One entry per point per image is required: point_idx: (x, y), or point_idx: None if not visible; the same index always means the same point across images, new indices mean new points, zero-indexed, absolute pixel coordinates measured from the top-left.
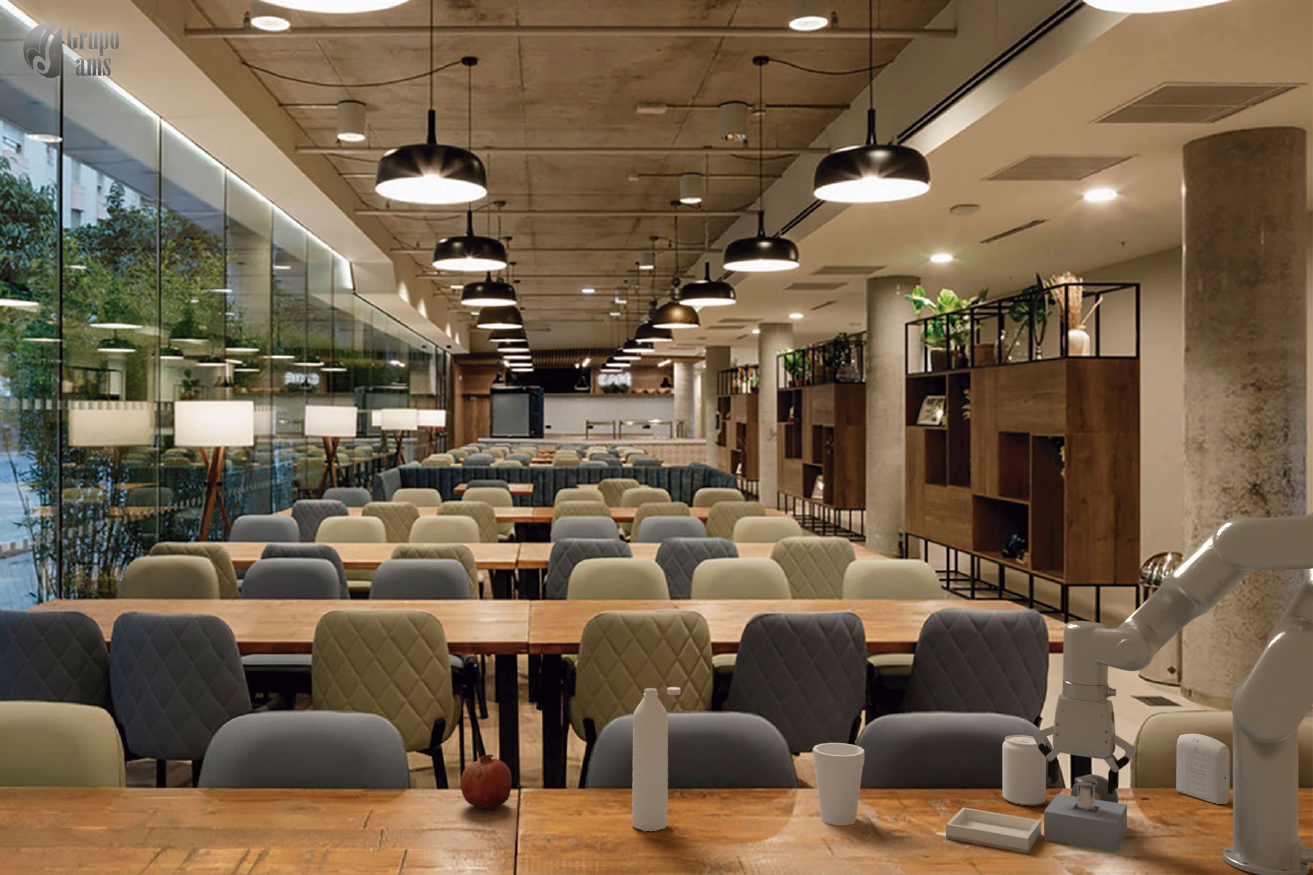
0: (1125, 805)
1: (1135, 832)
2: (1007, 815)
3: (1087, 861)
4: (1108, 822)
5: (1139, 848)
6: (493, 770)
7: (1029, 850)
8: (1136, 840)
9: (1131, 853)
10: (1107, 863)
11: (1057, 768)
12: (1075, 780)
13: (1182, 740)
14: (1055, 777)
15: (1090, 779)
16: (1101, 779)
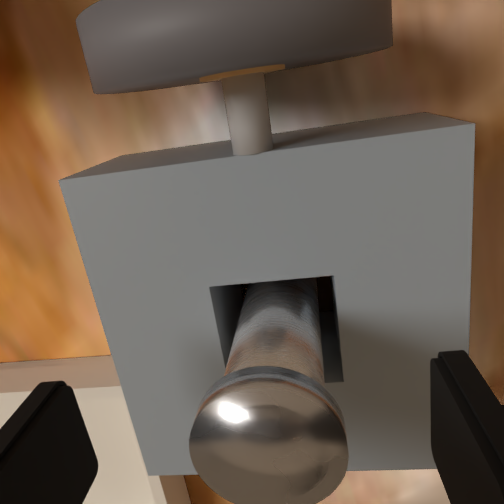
0: (468, 156)
1: (462, 85)
2: (15, 398)
3: (357, 491)
4: (424, 464)
5: (501, 291)
6: None
7: (188, 496)
8: (479, 201)
9: (477, 359)
10: (416, 479)
11: (31, 483)
12: (204, 472)
13: None
14: (78, 490)
15: (293, 429)
16: (285, 54)
